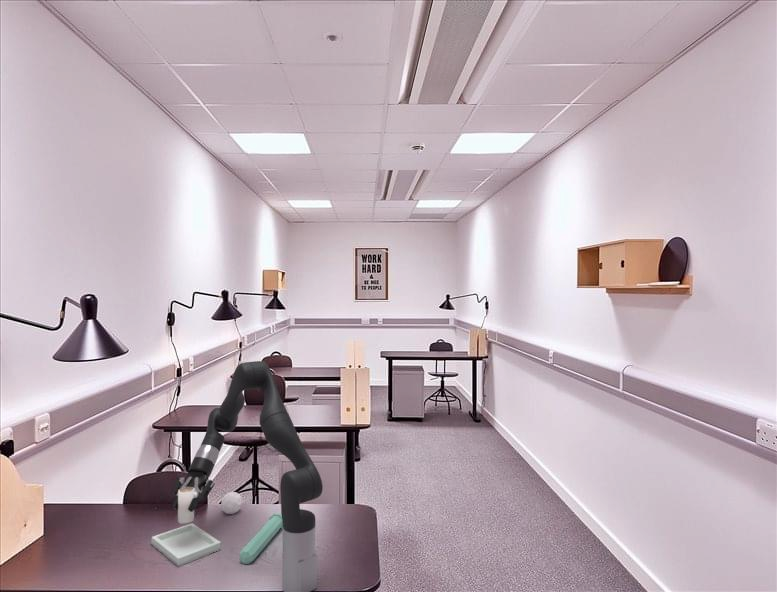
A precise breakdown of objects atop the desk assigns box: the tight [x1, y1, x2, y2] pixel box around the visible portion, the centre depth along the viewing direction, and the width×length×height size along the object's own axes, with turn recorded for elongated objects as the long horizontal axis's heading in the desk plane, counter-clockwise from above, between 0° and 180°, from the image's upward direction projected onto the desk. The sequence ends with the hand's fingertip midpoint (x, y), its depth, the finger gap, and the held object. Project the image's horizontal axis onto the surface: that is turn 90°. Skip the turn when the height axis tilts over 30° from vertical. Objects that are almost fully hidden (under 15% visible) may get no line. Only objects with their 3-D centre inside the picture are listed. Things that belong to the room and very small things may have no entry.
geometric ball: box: [220, 491, 243, 515], centre depth 189 cm, size 8×8×8 cm
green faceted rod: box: [239, 513, 283, 565], centre depth 164 cm, size 6×6×25 cm
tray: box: [151, 522, 222, 568], centre depth 162 cm, size 20×14×2 cm
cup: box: [177, 487, 195, 524], centre depth 162 cm, size 5×5×10 cm
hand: (182, 509), depth 161 cm, fingers closed on cup, 5 cm apart
